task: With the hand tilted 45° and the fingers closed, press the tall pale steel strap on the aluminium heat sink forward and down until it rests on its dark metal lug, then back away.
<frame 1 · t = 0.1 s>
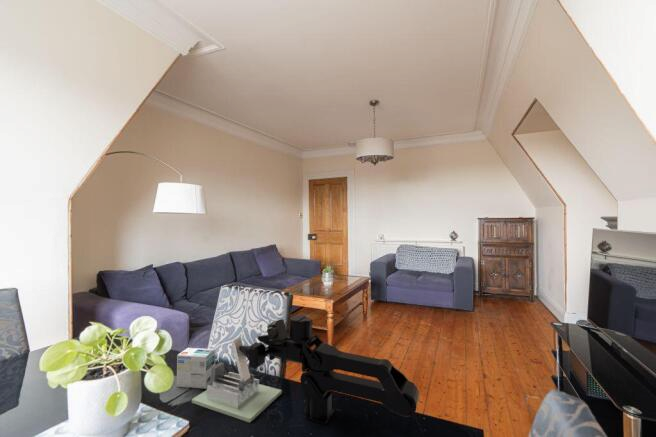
hand: (249, 342, 96), 17 cm above the table, tool horizontal, fingers open, 9 cm apart
steel strap: (241, 361, 92), point 12 cm above the table, hinge at 70.0°
pale green board: (238, 397, 94), on the table
heat sink: (235, 399, 93), resting on pale green board
light bulb box: (196, 383, 102), on the table
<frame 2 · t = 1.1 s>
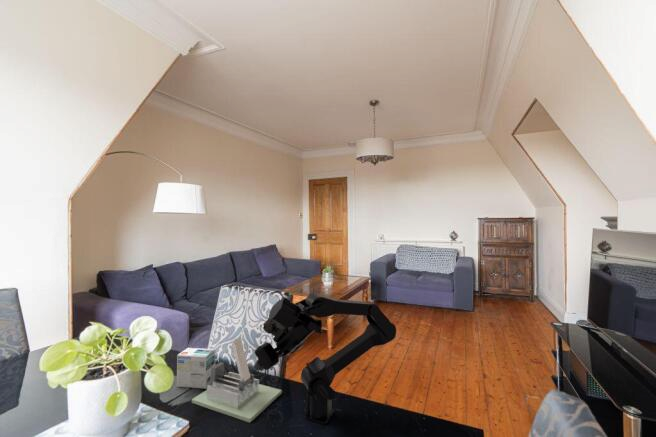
hand: (264, 363, 89), 13 cm above the table, tool tilted 45°, fingers open, 9 cm apart
nothing on the table moved.
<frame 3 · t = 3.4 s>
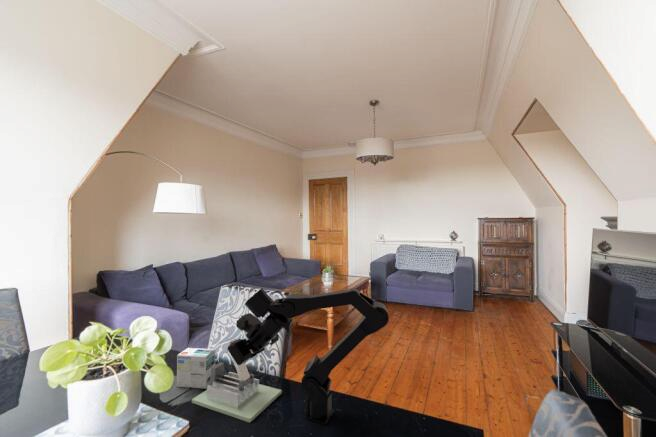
hand: (239, 359, 93), 13 cm above the table, tool tilted 45°, fingers closed, pressing on steel strap
steel strap: (239, 362, 93), point 12 cm above the table, hinge at 61.2°, touching gripper
everything else where it was.
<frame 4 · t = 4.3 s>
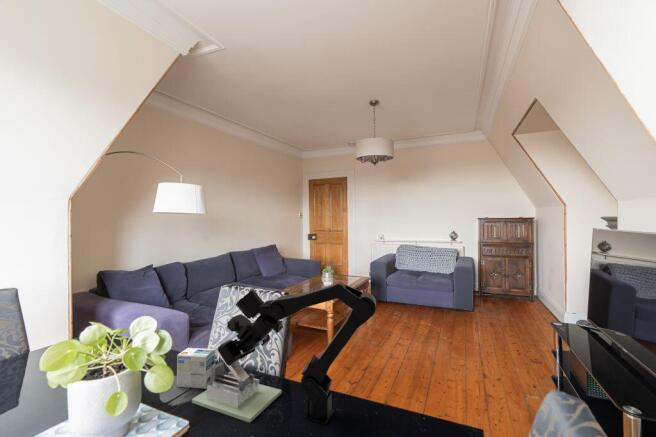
hand: (230, 359, 94), 12 cm above the table, tool tilted 45°, fingers closed, pressing on steel strap
steel strap: (234, 366, 93), point 10 cm above the table, hinge at 37.6°, touching gripper
everything else where it was.
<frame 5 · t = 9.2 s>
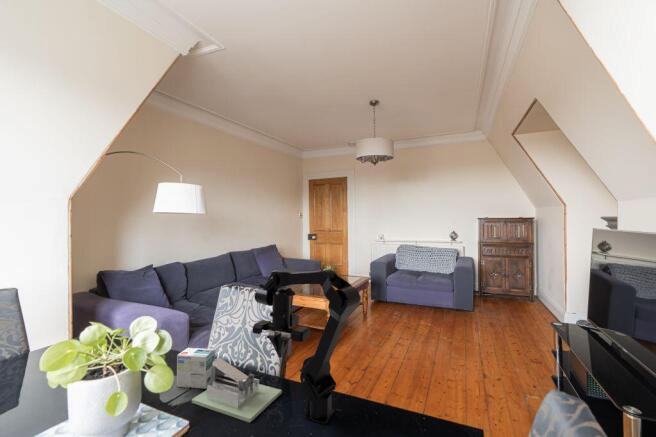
hand: (280, 357, 96), 12 cm above the table, tool pointing down, fingers closed
steel strap: (231, 371, 94), point 8 cm above the table, hinge at 17.6°, touching heat sink
everything else where it was.
at the end: steel strap at +18° (first picture: +70°); steel strap touching heat sink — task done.
